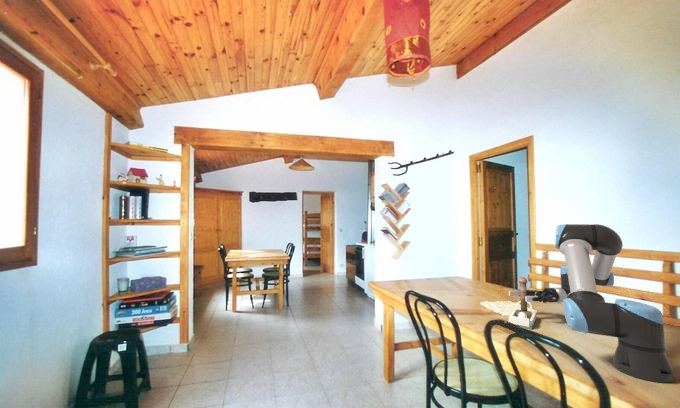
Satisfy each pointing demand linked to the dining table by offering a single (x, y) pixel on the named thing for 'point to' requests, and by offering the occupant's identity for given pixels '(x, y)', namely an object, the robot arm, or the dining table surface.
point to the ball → (522, 315)
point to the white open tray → (522, 320)
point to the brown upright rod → (523, 298)
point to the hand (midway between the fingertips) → (517, 296)
